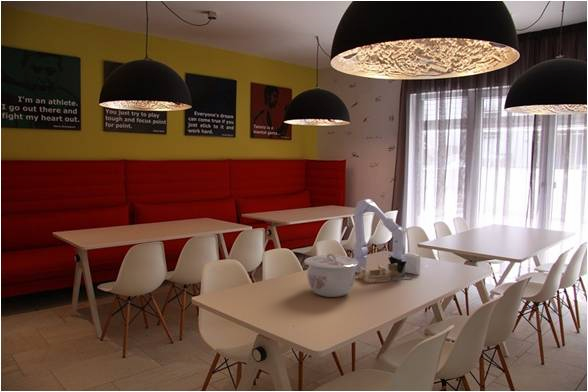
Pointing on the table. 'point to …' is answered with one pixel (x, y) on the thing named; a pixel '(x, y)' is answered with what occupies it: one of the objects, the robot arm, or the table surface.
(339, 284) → the chamber pot
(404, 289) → the table surface
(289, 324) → the table surface
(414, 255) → the photo printer
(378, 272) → the wooden cubby shelf
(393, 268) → the brown and grey block
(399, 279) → the slate mat
